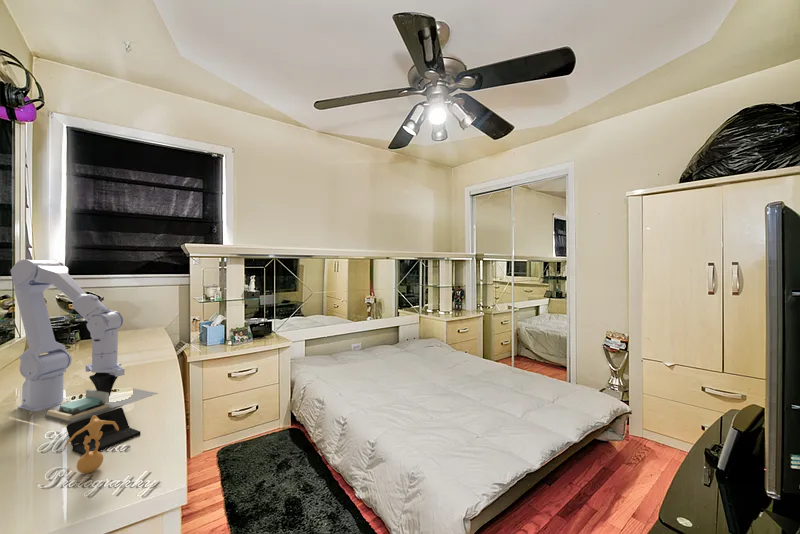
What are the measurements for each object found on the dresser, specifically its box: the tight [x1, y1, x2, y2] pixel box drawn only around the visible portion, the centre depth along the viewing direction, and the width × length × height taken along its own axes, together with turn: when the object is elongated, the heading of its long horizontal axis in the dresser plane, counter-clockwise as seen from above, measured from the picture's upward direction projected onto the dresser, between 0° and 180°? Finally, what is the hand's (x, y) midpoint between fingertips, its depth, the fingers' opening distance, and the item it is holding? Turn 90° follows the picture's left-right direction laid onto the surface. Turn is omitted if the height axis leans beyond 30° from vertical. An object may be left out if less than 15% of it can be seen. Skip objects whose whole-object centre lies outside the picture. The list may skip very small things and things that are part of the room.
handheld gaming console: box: [66, 407, 141, 457], centre depth 79 cm, size 12×7×10 cm
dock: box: [44, 388, 158, 424], centre depth 99 cm, size 12×22×2 cm, turn 161°
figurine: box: [64, 415, 119, 474], centre depth 66 cm, size 8×6×12 cm
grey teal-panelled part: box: [58, 388, 109, 416], centre depth 93 cm, size 9×8×4 cm
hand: (104, 397), depth 98 cm, fingers closed, pressing on grey teal-panelled part
